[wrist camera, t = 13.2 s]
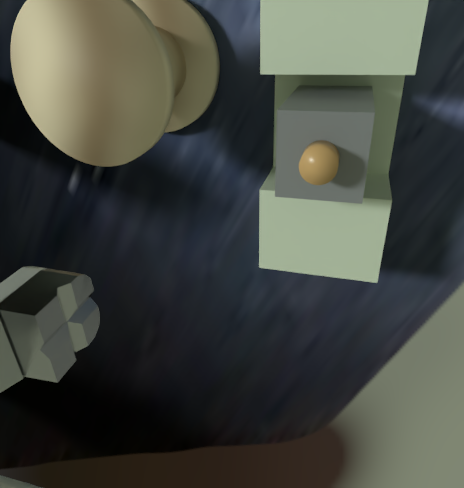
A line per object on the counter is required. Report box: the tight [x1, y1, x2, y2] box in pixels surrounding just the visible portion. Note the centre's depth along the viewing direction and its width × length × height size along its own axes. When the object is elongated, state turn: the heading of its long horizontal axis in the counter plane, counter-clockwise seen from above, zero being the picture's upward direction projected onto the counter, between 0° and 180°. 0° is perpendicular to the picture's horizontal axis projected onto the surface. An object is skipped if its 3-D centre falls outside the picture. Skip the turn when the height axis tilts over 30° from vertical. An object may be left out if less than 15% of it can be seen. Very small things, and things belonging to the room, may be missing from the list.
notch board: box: [259, 0, 429, 283], centre depth 22 cm, size 7×16×5 cm, turn 2°
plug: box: [275, 85, 375, 204], centre depth 20 cm, size 4×4×8 cm
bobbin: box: [11, 0, 220, 167], centre depth 22 cm, size 8×8×8 cm
